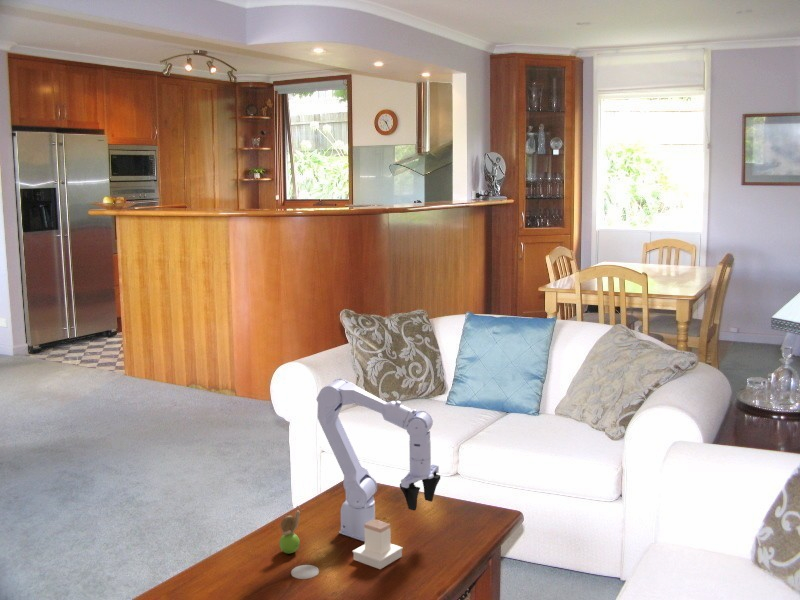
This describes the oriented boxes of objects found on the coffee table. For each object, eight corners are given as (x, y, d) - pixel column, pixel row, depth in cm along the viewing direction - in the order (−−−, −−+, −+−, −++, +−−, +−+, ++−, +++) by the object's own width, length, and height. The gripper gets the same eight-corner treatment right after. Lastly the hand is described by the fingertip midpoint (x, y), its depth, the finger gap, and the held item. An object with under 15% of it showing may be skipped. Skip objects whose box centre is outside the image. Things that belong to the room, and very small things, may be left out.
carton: (364, 549, 219) (364, 523, 218) (374, 543, 222) (374, 518, 221) (381, 554, 215) (380, 529, 214) (390, 549, 219) (390, 523, 218)
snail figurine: (307, 551, 224) (305, 508, 222) (288, 559, 219) (287, 515, 217) (294, 545, 228) (292, 503, 226) (275, 552, 223) (274, 510, 221)
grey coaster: (285, 574, 212) (285, 572, 211) (305, 564, 217) (304, 562, 217) (305, 582, 207) (305, 580, 207) (324, 572, 213) (324, 570, 213)
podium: (352, 559, 218) (352, 550, 218) (375, 546, 226) (375, 538, 225) (380, 569, 213) (380, 560, 212) (402, 556, 220) (402, 547, 220)
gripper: (415, 467, 217) (416, 517, 219) (447, 452, 229) (447, 499, 231) (394, 462, 222) (395, 510, 224) (426, 447, 233) (427, 494, 235)
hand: (420, 504), depth 227 cm, fingers open, 7 cm apart
